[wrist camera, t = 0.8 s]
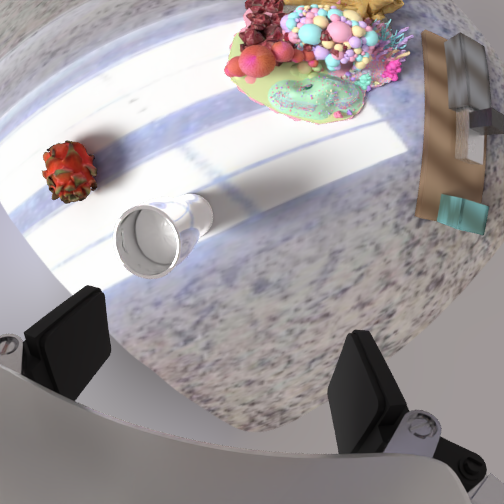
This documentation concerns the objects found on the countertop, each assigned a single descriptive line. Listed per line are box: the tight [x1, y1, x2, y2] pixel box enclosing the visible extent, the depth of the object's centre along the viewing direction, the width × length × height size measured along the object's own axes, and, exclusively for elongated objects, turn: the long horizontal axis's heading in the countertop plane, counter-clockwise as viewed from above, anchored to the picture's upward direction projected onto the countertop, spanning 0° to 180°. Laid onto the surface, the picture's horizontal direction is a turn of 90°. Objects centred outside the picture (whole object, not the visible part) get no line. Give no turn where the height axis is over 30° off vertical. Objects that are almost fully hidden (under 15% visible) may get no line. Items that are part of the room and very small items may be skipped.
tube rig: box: [415, 30, 491, 235], centre depth 28 cm, size 30×12×7 cm, turn 174°
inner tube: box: [455, 106, 504, 165], centre depth 23 cm, size 19×3×8 cm, turn 174°
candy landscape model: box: [224, 0, 414, 124], centre depth 26 cm, size 25×24×9 cm
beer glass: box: [114, 194, 213, 279], centre depth 30 cm, size 7×7×15 cm
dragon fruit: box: [42, 141, 97, 204], centre depth 33 cm, size 8×8×12 cm
